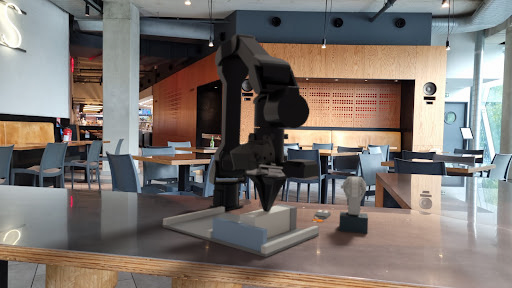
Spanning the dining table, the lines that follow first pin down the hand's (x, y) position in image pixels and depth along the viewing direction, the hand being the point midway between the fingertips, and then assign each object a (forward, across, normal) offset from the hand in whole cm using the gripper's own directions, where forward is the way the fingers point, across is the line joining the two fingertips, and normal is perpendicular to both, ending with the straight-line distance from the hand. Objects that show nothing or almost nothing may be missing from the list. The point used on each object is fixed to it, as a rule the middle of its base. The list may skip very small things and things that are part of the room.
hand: (266, 211), depth 71 cm
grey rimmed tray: (+5, -6, 0) cm, 8 cm away
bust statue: (+5, +10, +17) cm, 20 cm away
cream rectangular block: (+4, 0, 0) cm, 4 cm away
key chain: (+6, 0, +20) cm, 21 cm away
